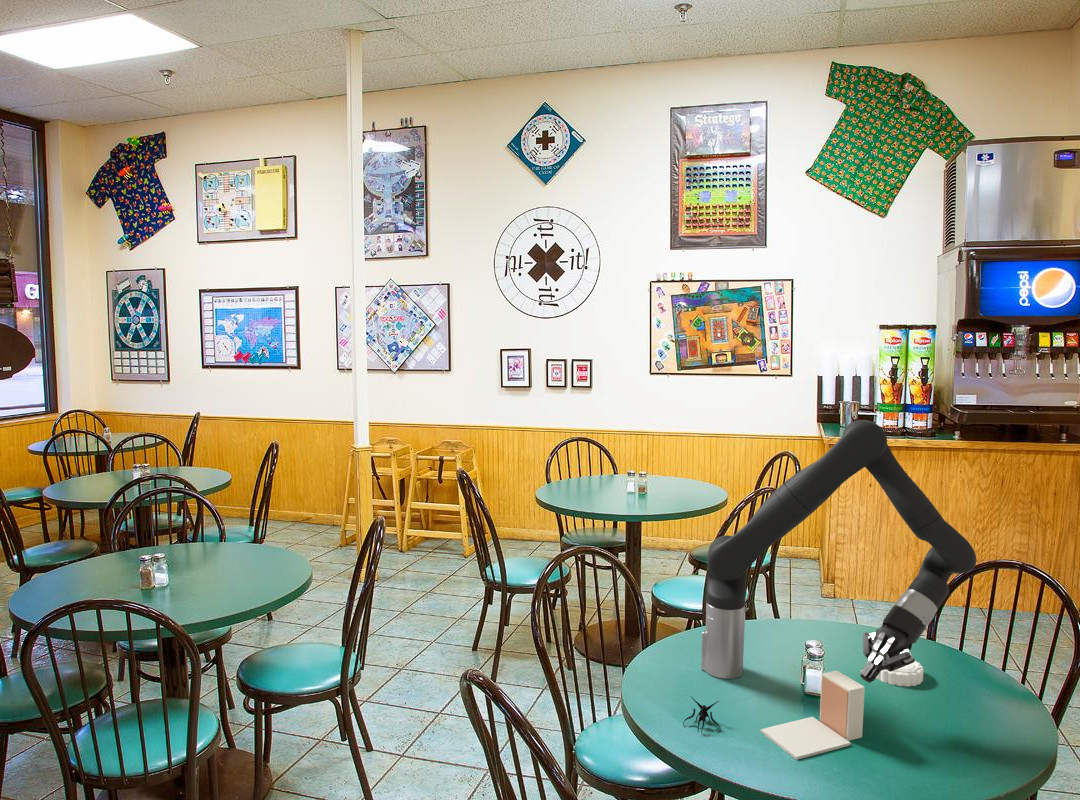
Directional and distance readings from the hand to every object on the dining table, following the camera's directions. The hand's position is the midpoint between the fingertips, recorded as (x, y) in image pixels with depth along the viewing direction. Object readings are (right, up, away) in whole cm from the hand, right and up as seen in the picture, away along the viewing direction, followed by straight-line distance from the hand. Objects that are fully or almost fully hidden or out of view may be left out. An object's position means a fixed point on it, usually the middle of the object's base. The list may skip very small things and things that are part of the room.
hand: (864, 679), depth 165 cm
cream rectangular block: (-6, -10, -1) cm, 12 cm away
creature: (-35, -10, 0) cm, 36 cm away
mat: (-14, -10, -5) cm, 19 cm away
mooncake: (+17, -8, +24) cm, 31 cm away
